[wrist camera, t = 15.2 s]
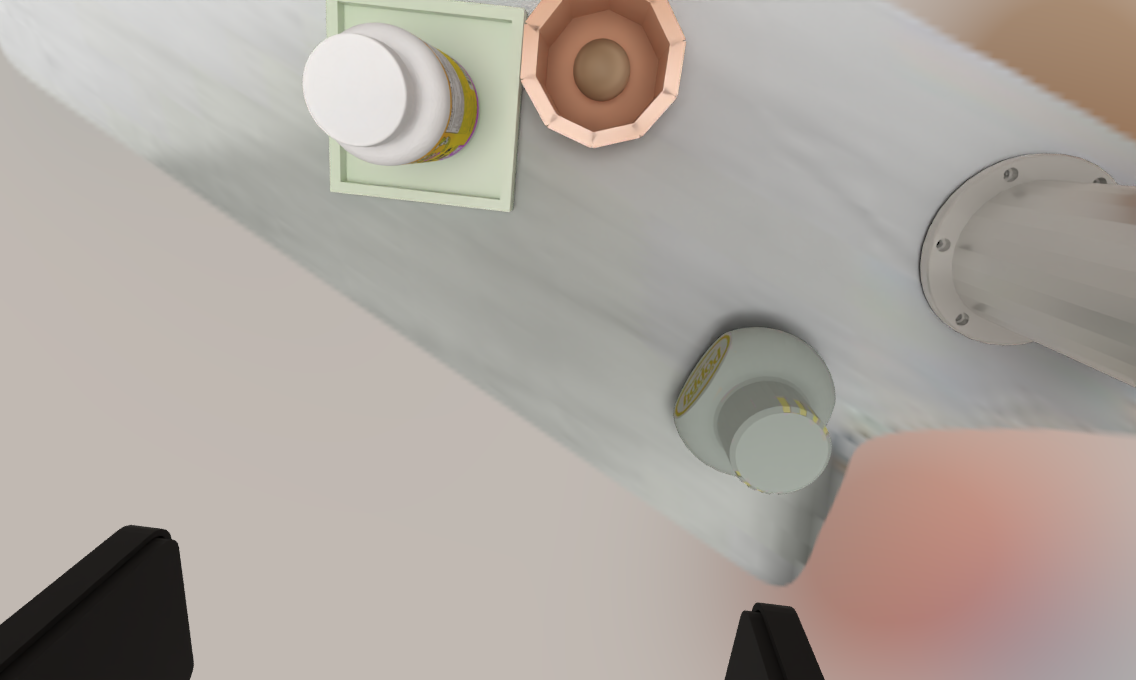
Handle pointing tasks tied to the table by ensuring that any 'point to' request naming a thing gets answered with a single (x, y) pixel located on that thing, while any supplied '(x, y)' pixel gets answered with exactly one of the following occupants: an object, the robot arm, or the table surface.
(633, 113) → the pot
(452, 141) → the supplement bottle
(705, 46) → the table surface
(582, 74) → the cork ball
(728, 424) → the air freshener
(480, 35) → the tray
